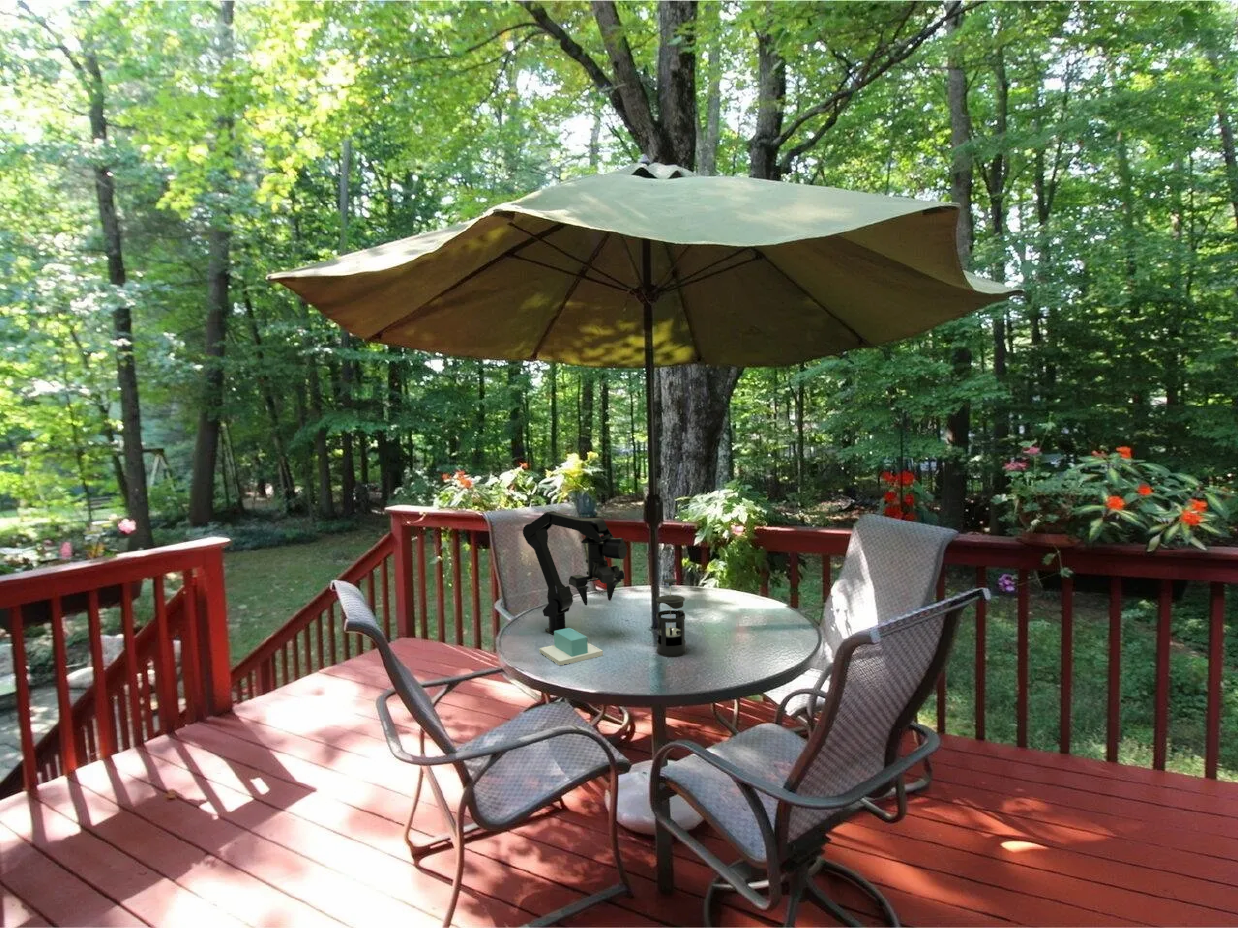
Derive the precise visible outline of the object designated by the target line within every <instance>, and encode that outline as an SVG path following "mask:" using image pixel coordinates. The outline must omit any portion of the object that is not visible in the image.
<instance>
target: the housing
mask: <svg viewBox="0 0 1238 928" xmlns="http://www.w3.org/2000/svg"><path fill="white" fill-rule="evenodd" d="M553 638H554V639H553V640H554V644H553V645H554V646H555V647H556V648H558V649H560V650H561V651H563V652H565V653H566V654H568V655H570V656H571V657H573V656H577V655H581V654H585V653H588V643H589V642H588V636H586V635H584V634H582V633H580V632H578V630H576V629H575V630H574V629H573V628H571V627H565V629H561V630H556V631H554V635H553ZM587 642H588V643H587Z"/></svg>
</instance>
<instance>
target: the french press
mask: <svg viewBox="0 0 1238 928" xmlns="http://www.w3.org/2000/svg"><path fill="white" fill-rule="evenodd" d="M663 582H664V583H668V587H669V595H667V594H666V595H665V594H664V595H660V596H656V598H655V600H656V602H657V607H659V606H660V605H661V604H664V605H667V606H668V607H669V609H668V610H667V609H665V610H661V611H658V612H657V613H656V616H655V617H656V621H657V640H656V653H657V655H659V656H661V657H666V658H677V657H681V656H684V655H686V653H687V651H688V649H687V648H686V647H687V645H686V643H687V642H686V637H685V636H686V635H685V632H686V631H685V620H686V613H685V611H684V610H681V608H683V607H684V602H685V601H686V600H685V597H684V596H681V595H674V594H672V588H671V587H672V583H677V582H678V581H677V579H675V578H665V579H663ZM663 615H665V616H666V615H669V618H668V617H667V618H666V617H662V616H663ZM672 615H675V617H673V618H672ZM668 623H669V625H670V627H667V624H668ZM672 623H673V624H674V623H675V627H672Z"/></svg>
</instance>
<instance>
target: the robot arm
mask: <svg viewBox="0 0 1238 928" xmlns="http://www.w3.org/2000/svg"><path fill="white" fill-rule="evenodd" d="M552 526H558V527H561V528H566V529H569V530H573V531H577V532H579V533H580V534H581V535H582V536H585V537H584V539H583V540H582V541H581V544H586V545H587V558H586V559H585V562H586V563H587V568H588V569H587V570H588V571H587V570H586V573H585V575H587V576H585V575H582V574H580V573H579V574H574V575H570V576H569V578H568V585H566V586H565V585H564V584H563V583H562V580H561V578H560V576H559V573H558V570H557V567H556V565H555V564H556V563H555V562H554V559H553V555H552V554H551V550H550V548H549V546H548V545H549V544H548V541H549V534H548V530H549V529H551V528H552ZM522 535H523V538H524V539H525V541H526V543H527V545H528V546H530V547H531V548H532V549H533V550H534V553H535V556H536V559H537V561H538V564H539V567H540V569H541V573H542V575H543V578H544V580H545V584H546V586H547V597H546V598H547V602H548V604H547V605H545V607H544V608H543V609H542V612H543V617H548V628H545V629H544V630H545V632H547V633H549V634H550V635H553V636H554V631H556V630H561V629H565V628H566V613H568V612H569V611H570V607H571V606H572V605H573V602H574V599H573V597H574V594H573V593H572V590H571V587H570V586H572V587H573V588H575V589H576V590H577V592H578V593H579V596H580V597H581V600H582V602H583V604H584V606H588V589H589V586H587V585H588V582H589V583H590V582H595V581H599V582H600V583H602V584H605V586H606V595H607V600H608V601H609V602H611V601H612V598H613V595H614V592H615V589H616V587H617V585H618V584H619V583H621V582H622V580H624V579H625V578H626V577H625V571H624V570H622V569H620V567H619V566H618V565H612V566H609V565H608V564H609V562H608V559H616V560H624V559H625V558H626V555H627V553H628V551H627V550H628V547H627V544H626V542H624V538H622V537H618V538H615V537H614V535H613V534H612V532H611V531H610V529H609V528H608V526H607V522H606V521H605V520H604V519H602V518H598V517H595V518H593V517H592V518H591V517H590V518H582V517H579V516H578V517H577V516H573V515H568V514H565V513H560V512H557V511H554V510H550V511H545V512H544V513H543V514H542V515H541V516H539V517H538V518H536V519H534V520H533V521H532V522H530V523H528V524H527V523H526V525H524V526H523V529H522ZM606 558H607V559H606Z"/></svg>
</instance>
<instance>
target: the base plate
mask: <svg viewBox="0 0 1238 928" xmlns="http://www.w3.org/2000/svg"><path fill="white" fill-rule="evenodd" d="M587 643H588V653H585V654H581V655H577V656H573V657H571V656H570V655H568V654H566V653H565V652H563V651H561V650H560V649H558V648H556V647H555V646H554V644H552V645H548V646H544V647H543V646H542V647H540V648H539V654H540V653H542V654H543V655H545V656H546V657H548V658H549V659H548V658H547V659H548V660H550V659H551V660H552V661H551V660H550V661H551V662H553V661H554V662H555V663H554V662H553V663H554V664H556V663H557V664H558V665H557V664H556V665H557V666H559V665H563V666H565V665H564V664H567V665H570V664H569V663H571V664H574V663H578V661H579V662H583V661H587V660H591V659H594V658H595V659H596V658H597V657H603V656H604V651H603V650H602V649H600V648H599V647H596V646H595V645H593V644H591V643H590V642H588V641H587ZM542 654H541V655H542ZM543 655H542V656H543ZM545 656H544V657H545ZM546 657H545V658H546Z"/></svg>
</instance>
